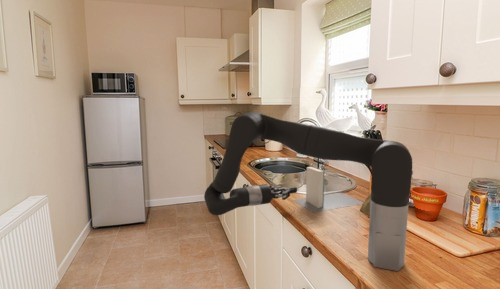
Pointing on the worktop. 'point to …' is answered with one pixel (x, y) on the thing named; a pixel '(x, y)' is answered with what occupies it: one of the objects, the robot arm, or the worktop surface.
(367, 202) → the rock
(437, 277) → the worktop surface
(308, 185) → the tile
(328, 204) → the board
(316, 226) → the worktop surface
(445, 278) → the worktop surface
